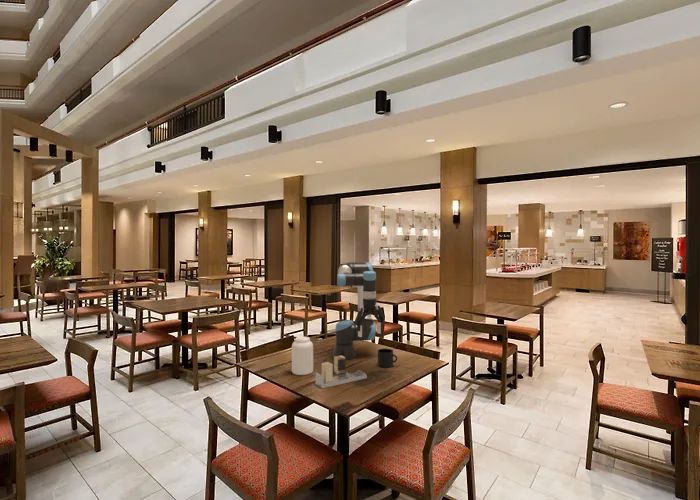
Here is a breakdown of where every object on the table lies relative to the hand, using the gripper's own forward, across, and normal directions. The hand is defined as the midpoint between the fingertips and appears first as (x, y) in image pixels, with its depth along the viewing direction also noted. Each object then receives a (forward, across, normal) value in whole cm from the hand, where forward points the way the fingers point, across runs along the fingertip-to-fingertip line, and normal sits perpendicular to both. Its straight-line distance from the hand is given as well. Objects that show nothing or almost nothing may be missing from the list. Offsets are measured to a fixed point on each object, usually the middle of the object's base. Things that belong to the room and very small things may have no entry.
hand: (369, 334), depth 215 cm
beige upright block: (+22, -14, +11) cm, 28 cm away
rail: (+22, -20, -2) cm, 30 cm away
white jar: (+22, -31, +24) cm, 45 cm away
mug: (+22, +17, +4) cm, 28 cm away
